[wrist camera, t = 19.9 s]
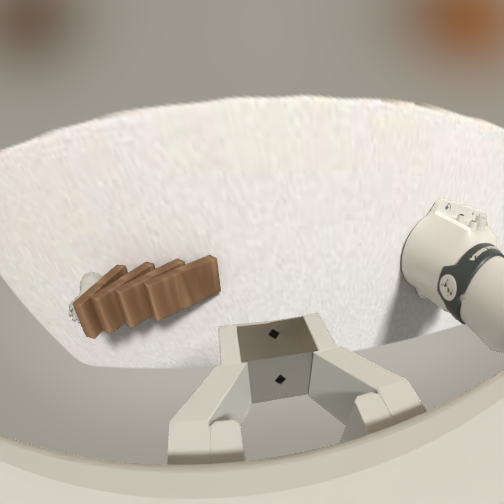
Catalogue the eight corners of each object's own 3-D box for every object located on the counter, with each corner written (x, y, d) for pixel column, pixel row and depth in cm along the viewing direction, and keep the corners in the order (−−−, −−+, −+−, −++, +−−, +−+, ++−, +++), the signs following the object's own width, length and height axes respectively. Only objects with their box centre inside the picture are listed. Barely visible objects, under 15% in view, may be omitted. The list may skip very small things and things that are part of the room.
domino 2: (154, 263, 38) (96, 300, 30) (161, 295, 40) (109, 334, 32) (146, 261, 38) (89, 297, 30) (153, 292, 40) (102, 330, 32)
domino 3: (184, 261, 38) (119, 294, 31) (190, 293, 40) (130, 328, 33) (177, 258, 39) (113, 289, 32) (183, 290, 41) (125, 322, 34)
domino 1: (125, 265, 37) (80, 305, 29) (133, 296, 40) (94, 338, 31) (116, 265, 38) (72, 303, 29) (125, 295, 40) (86, 336, 31)
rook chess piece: (108, 272, 38) (90, 304, 31) (110, 298, 40) (94, 331, 33) (81, 268, 37) (60, 297, 30) (83, 293, 39) (65, 325, 32)
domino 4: (216, 258, 38) (147, 287, 32) (220, 291, 40) (157, 321, 34) (209, 254, 39) (142, 282, 33) (214, 286, 41) (151, 315, 35)
